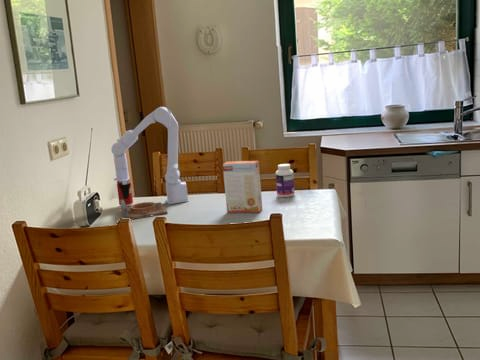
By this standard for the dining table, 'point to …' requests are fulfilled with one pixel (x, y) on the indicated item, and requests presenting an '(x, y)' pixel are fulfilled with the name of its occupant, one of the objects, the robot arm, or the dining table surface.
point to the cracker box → (242, 186)
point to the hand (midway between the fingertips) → (125, 196)
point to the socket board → (142, 209)
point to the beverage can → (127, 201)
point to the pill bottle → (284, 181)
